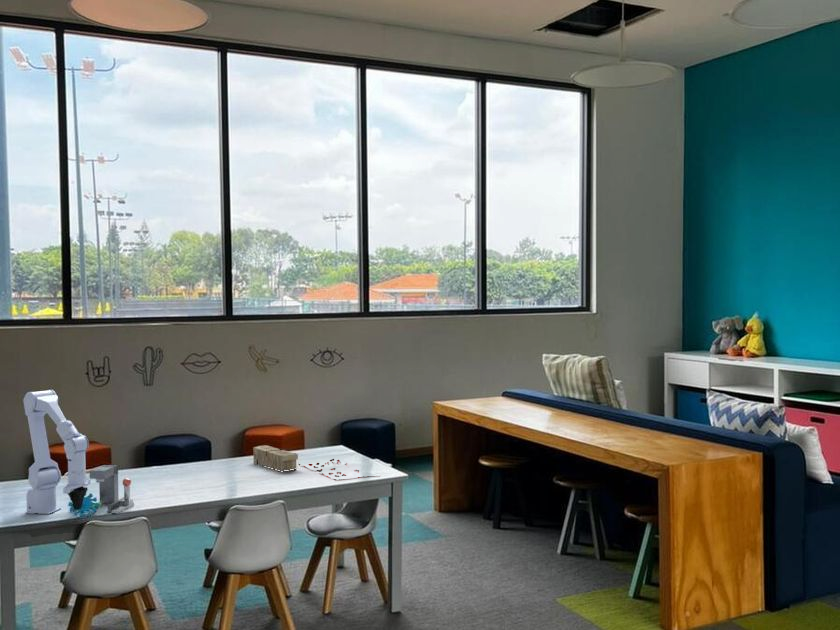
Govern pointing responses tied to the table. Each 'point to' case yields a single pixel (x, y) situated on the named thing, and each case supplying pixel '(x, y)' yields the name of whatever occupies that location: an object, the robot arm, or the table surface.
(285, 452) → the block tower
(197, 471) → the table surface
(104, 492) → the press frame
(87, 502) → the blue virus model
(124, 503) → the lever handle
